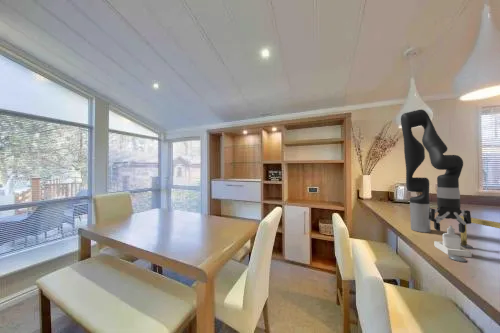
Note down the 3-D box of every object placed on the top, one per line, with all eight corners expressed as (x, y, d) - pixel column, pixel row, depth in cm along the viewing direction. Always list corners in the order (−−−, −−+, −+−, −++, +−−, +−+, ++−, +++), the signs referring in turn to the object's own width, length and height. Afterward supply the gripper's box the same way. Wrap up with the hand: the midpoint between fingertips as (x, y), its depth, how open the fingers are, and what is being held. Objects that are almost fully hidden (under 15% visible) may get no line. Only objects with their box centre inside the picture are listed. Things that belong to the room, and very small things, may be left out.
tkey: (513, 258, 78) (512, 224, 78) (509, 258, 77) (507, 225, 77) (458, 241, 95) (457, 214, 95) (454, 242, 95) (453, 215, 95)
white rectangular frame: (434, 246, 93) (434, 241, 93) (455, 248, 91) (455, 242, 91) (447, 254, 84) (447, 249, 84) (471, 257, 81) (471, 251, 81)
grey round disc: (445, 255, 83) (445, 254, 83) (460, 257, 81) (460, 256, 81) (453, 261, 78) (453, 259, 78) (469, 262, 77) (469, 261, 77)
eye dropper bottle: (459, 254, 84) (458, 228, 84) (442, 250, 88) (441, 225, 89) (461, 252, 86) (460, 226, 87) (444, 248, 91) (443, 223, 91)
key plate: (455, 244, 95) (455, 242, 95) (466, 245, 93) (466, 243, 93) (461, 247, 91) (461, 245, 91) (472, 248, 89) (472, 246, 89)
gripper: (433, 197, 87) (434, 232, 87) (474, 198, 82) (476, 235, 82) (424, 195, 94) (426, 227, 94) (462, 196, 89) (463, 230, 89)
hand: (449, 231), depth 88 cm, fingers open, 8 cm apart
